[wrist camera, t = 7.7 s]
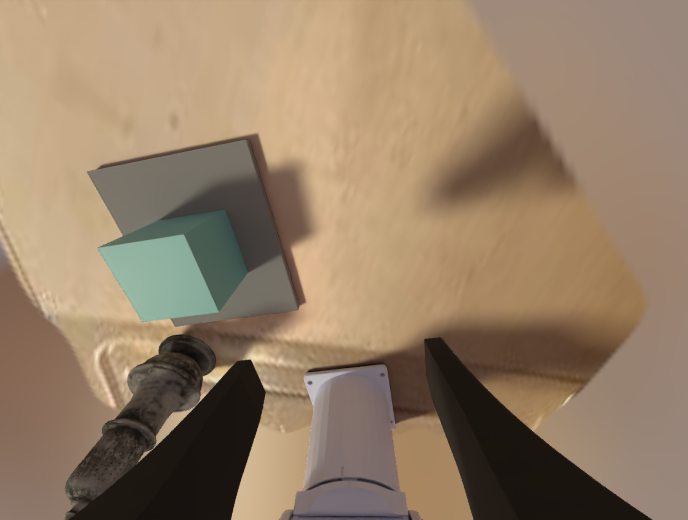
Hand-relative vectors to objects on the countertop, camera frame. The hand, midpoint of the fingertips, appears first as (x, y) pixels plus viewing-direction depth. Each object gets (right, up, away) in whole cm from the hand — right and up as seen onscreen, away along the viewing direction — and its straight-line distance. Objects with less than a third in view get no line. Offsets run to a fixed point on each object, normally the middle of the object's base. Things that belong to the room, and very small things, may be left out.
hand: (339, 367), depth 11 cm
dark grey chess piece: (-15, -5, +14) cm, 21 cm away
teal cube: (-10, +5, +9) cm, 14 cm away
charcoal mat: (-10, +5, +9) cm, 15 cm away
